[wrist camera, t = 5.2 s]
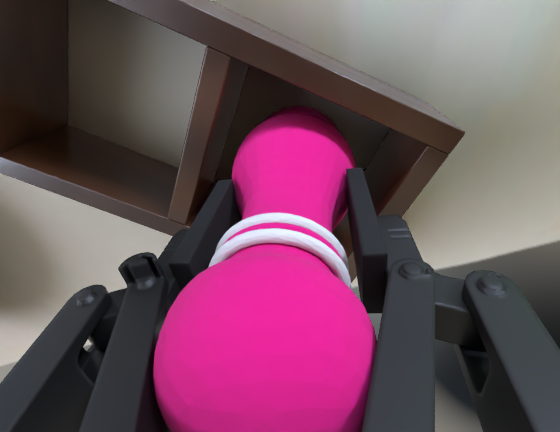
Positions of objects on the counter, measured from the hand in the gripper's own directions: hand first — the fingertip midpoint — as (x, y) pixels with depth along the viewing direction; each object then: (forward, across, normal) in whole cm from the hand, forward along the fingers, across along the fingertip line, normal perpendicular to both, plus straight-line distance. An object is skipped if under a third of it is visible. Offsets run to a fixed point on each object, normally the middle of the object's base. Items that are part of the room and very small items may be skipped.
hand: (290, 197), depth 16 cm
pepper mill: (+7, 0, 0) cm, 7 cm away
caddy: (+7, -5, +3) cm, 9 cm away
